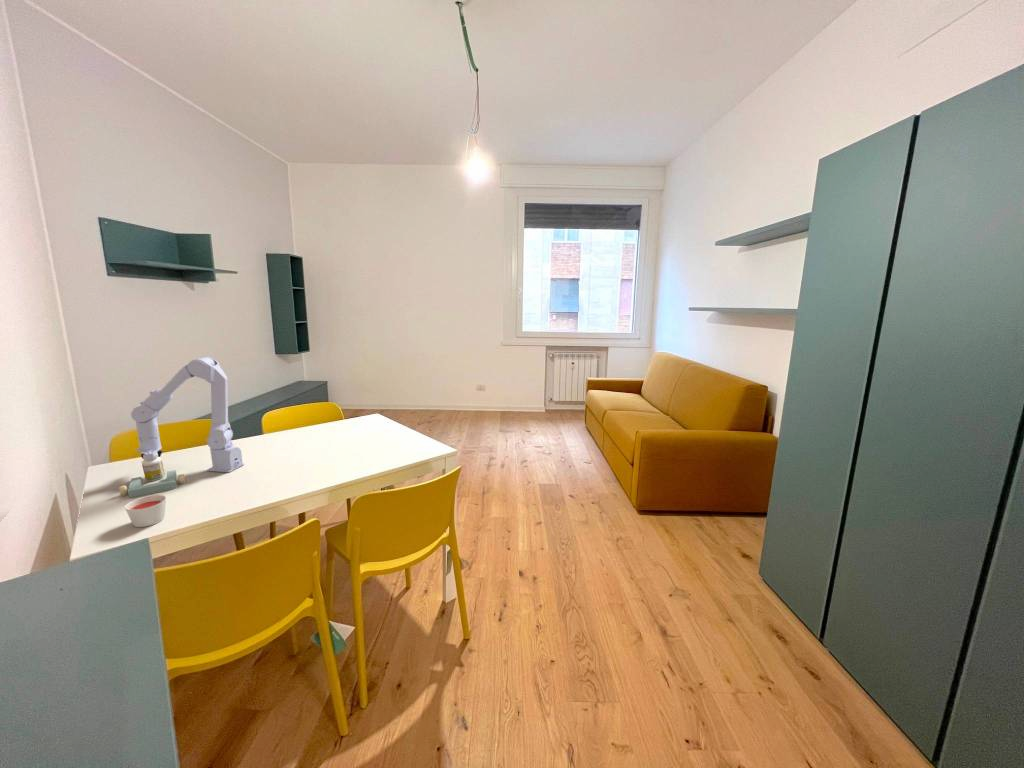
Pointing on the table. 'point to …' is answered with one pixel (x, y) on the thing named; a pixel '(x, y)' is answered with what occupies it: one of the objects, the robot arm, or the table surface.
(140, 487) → the slot block
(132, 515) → the candle
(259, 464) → the table surface
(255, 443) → the table surface
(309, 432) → the table surface
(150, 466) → the supplement bottle
